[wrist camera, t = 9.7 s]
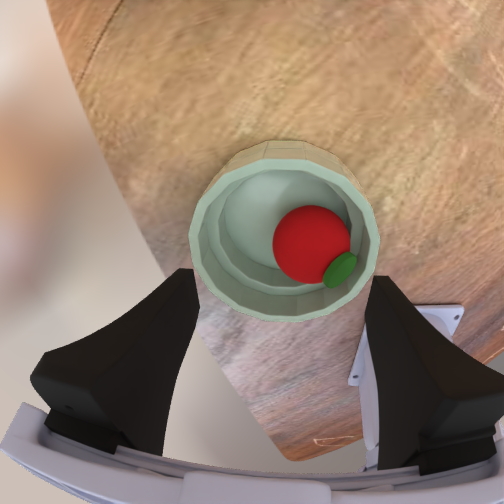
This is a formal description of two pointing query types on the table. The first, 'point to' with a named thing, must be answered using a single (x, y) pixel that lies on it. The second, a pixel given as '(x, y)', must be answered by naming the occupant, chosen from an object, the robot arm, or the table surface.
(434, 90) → the table surface
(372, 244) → the bowl
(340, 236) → the tomato
